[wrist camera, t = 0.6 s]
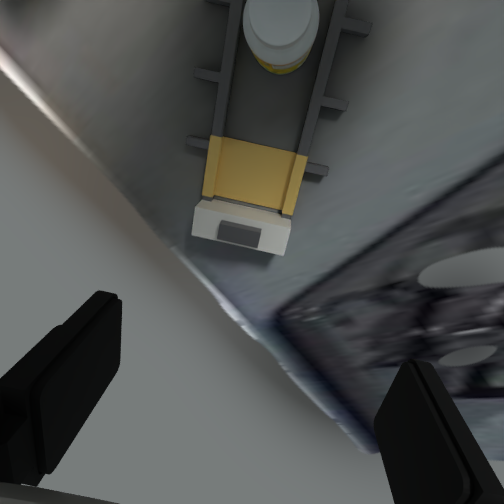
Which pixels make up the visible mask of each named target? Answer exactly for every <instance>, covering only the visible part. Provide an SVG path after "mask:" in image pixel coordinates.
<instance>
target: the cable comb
mask: <svg viewBox="0 0 504 504" xmlns="http://www.w3.org/2000/svg"><path fill="white" fill-rule="evenodd" d="M205 1H206V2H211V3H215V4H220V5H224V6H229V7H230V9H229V16H228V23H227V30H226V37H225V43H224V50H223V57H222V64H221V71H220V73H219V72H215V71H211V70H206V69H202V68H197V67H195V69H194V77H195V78H199V79H203V80H208V81H212V82H216V83H219V85H218V92H217V99H216V106H215V113H214V119H213V126H212V133H211V135H210V140H208V139H204V138H199V137H195V136H191V135H190V136H187V138H186V145H190V146H194V147H199V148H203V149H207V150H208V156H207V163H206V170H205V177H204V184H203V191H202V200H201V201H200V202H199V203H198V204H197V205H196V206H195V212H194V219H193V226H192V234H191V235H193V236H197V237H202V238H206V239H211V240H215V241H220V242H224V243H228V244H233V245H237V246H242V247H246V248H251V249H255V250H259V251H264V252H268V253H273V254H277V255H282V256H284V253H285V249H286V245H287V242H288V238H289V234H290V231H291V216H292V215H293V211H294V207H295V203H296V200H297V196H298V192H299V189H300V185H301V181H302V177H303V174H304V171H305V172H310V173H314V174H318V175H323V176H327V174H328V171H329V167H328V166H324V165H319V164H315V163H311V162H307V159H308V152H309V149H310V145H311V141H312V137H313V134H314V130H315V126H316V122H317V119H318V115H319V111H320V107H321V106H323V107H328V108H332V109H337V110H341V111H346V110H347V107H348V104H349V101H344V100H340V99H335V98H331V97H326V96H324V92H325V89H326V85H327V81H328V77H329V74H330V70H331V66H332V62H333V58H334V55H335V51H336V47H337V43H338V40H339V36H340V32H345V33H349V34H353V35H358V36H362V37H367V36H368V35H369V33H370V30H371V26H372V23H371V22H366V21H362V20H357V19H353V18H348V17H345V13H346V10H347V6H348V2H349V0H335V3H334V7H333V11H332V15H331V19H330V23H329V27H328V31H327V35H326V39H325V43H324V47H323V51H322V55H321V59H320V63H319V67H318V71H317V75H316V79H315V83H314V87H313V91H312V95H311V99H310V103H309V107H308V111H307V114H306V118H305V122H304V126H303V130H302V134H301V138H300V142H299V146H298V150H297V153H295V152H290V151H286V150H281V149H277V148H272V147H268V146H263V145H259V144H255V143H250V142H246V141H241V140H237V139H232V138H228V137H223V136H224V130H225V124H226V118H227V111H228V105H229V99H230V92H231V86H232V80H233V74H234V67H235V61H236V55H237V49H238V42H239V36H240V30H241V24H242V17H243V11H244V5H245V0H205ZM214 195H217V196H221V197H226V198H230V199H235V200H239V201H244V202H248V203H252V204H257V205H261V206H266V207H270V208H275V209H279V210H282V214H278V213H274V212H269V211H265V210H260V209H256V208H252V207H247V206H243V205H238V204H234V203H229V202H225V201H220V200H216V199H214Z"/></svg>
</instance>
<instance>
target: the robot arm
mask: <svg viewBox="0 0 504 504" xmlns="http://www.w3.org/2000/svg"><path fill="white" fill-rule="evenodd" d="M121 323H122V300H120V299H118V296H117V295H116V294H114V293H109V292H105V291H97V292H95V293H94V294H93V295H92V296H91V297H90V298H89V299H88V300H87V301H86V302H85V303H84V304H83V305H82V306H81V307H80V308H79V309H78V310H77V311H76V312H75V313H74V314H73V315H72V316H70V317H69V318H68V320H66V321H65V322H64V323H63V324H62V325H58V326H56V327H55V328H53V329H52V330H51V331H50V332H49V333H48V334H47V335H46V336H45V337H44V338H43V339H42V340H41V341H40V342H39V343H37V344H36V345H35V346H34V347H33V348H32V349H31V350H30V351H29V352H28V353H27V354H26V355H25V356H24V357H23V358H22V359H20V360H19V361H18V362H17V363H16V364H15V365H14V366H13V367H12V368H11V369H10V370H9V371H8V372H7V373H6V374H5V375H4V376H2V377H1V378H0V504H118V503H114V502H109V501H104V500H100V499H95V498H90V497H84V496H80V495H74V494H69V493H64V492H59V491H54V490H49V489H44V488H39V487H37V486H38V484H39V483H40V481H41V479H42V478H43V476H44V475H45V474H51V473H52V472H53V471H54V469H55V468H56V467H57V465H58V464H59V462H60V460H61V459H62V457H63V456H64V454H65V453H66V451H67V449H68V448H69V446H70V445H71V443H72V442H73V440H74V438H75V437H76V435H77V434H78V432H79V431H80V429H81V428H82V426H83V424H84V423H85V421H86V420H87V418H88V416H89V415H90V414H91V412H92V410H93V409H94V407H95V406H96V404H97V402H98V401H99V399H100V398H101V396H102V395H103V393H104V392H105V390H106V388H107V387H108V385H109V384H110V382H111V381H112V379H113V378H114V376H115V374H116V373H117V371H118V368H119V365H120V353H121V352H120V351H121V325H122V324H121ZM374 431H375V435H376V439H377V442H378V446H379V449H380V453H381V456H382V460H383V464H384V467H385V471H386V474H387V478H388V481H389V485H390V489H391V492H392V496H393V500H394V503H395V504H504V488H503V487H502V485H501V483H500V482H499V480H498V478H497V476H496V475H495V473H494V471H493V469H492V468H491V466H490V464H489V462H488V461H487V459H486V457H485V455H484V454H483V452H482V450H481V449H480V447H479V445H478V443H477V442H476V440H475V438H474V436H473V435H472V433H471V431H470V429H469V428H468V426H467V424H466V423H465V421H464V419H463V417H462V416H461V414H460V412H459V410H458V409H457V407H456V405H455V403H454V402H453V400H452V398H451V397H450V395H449V393H448V391H447V390H446V388H445V386H444V384H443V383H442V381H441V379H440V377H439V376H438V374H437V372H436V371H435V369H434V367H433V366H432V364H431V363H429V362H424V361H420V360H415V359H410V360H408V362H404V363H403V364H402V365H401V367H400V369H399V371H398V373H397V375H396V377H395V379H394V381H393V383H392V385H391V387H390V389H389V391H388V393H387V395H386V397H385V399H384V401H383V402H382V404H381V406H380V408H379V410H378V412H377V414H376V416H375V419H374ZM21 484H27V485H31V486H25V485H21ZM32 486H35V487H32Z"/></svg>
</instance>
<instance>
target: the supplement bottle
mask: <svg viewBox="0 0 504 504" xmlns="http://www.w3.org/2000/svg"><path fill="white" fill-rule="evenodd" d="M318 26H319V7H318V3H317V0H247V2H246V5H245V8H244V13H243V30H244V35H245V38H246V41H247V43H248V45H249V47H250V49H251V51H252V53H253V55H254V56H255V58H256V60H257V61H258V63H259V64H260V65H261V66H262V67H263V68H265V69H266V70H267V71H269V72H271V73H273V74H279V75H282V74H288V73H291V72H293V71H294V70H296V69H298V68H299V67H300V66H301V65H302V64H303V63H304V62H305V60H306V59H307V57H308V55H309V53H310V51H311V48H312V45H313V43H314V40H315V38H316V35H317V31H318Z"/></svg>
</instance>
